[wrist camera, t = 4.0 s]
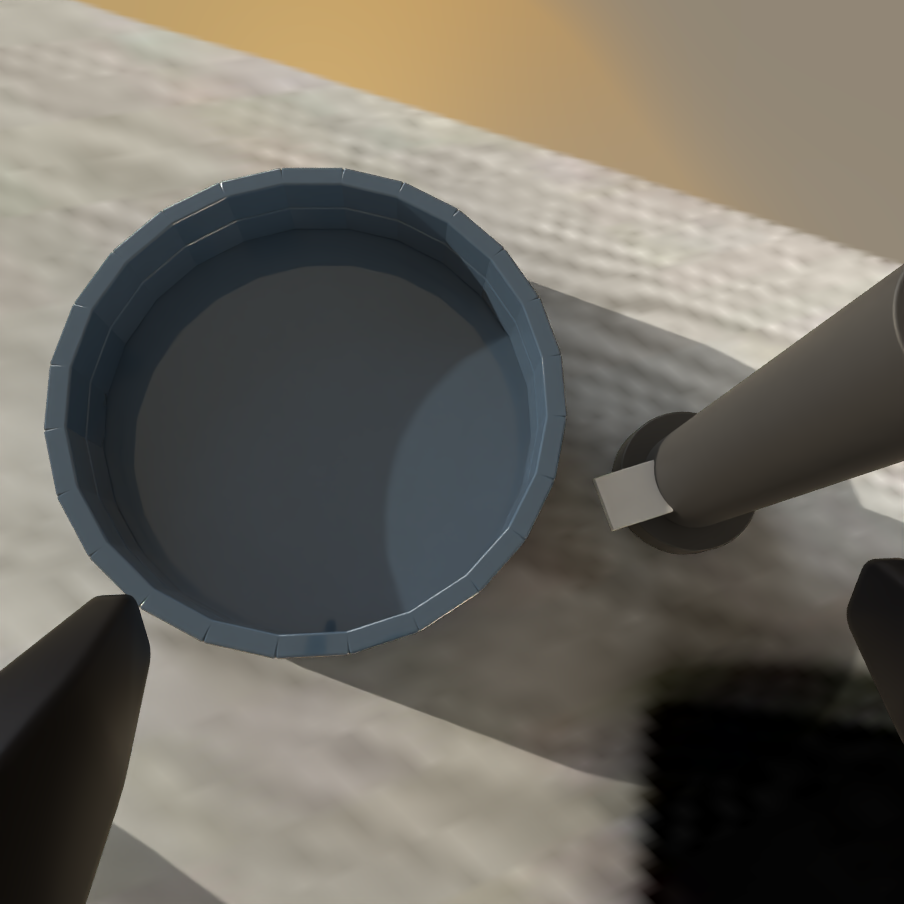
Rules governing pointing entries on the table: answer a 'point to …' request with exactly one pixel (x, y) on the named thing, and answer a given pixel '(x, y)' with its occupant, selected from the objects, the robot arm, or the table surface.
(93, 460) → the bowl
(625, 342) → the table surface
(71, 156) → the table surface
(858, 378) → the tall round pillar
